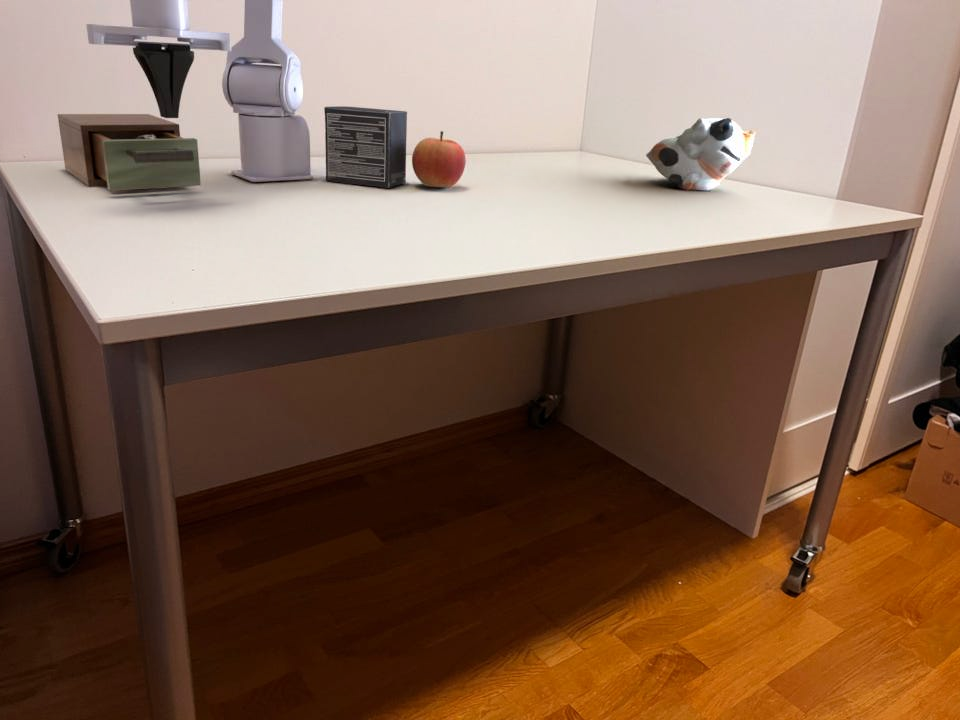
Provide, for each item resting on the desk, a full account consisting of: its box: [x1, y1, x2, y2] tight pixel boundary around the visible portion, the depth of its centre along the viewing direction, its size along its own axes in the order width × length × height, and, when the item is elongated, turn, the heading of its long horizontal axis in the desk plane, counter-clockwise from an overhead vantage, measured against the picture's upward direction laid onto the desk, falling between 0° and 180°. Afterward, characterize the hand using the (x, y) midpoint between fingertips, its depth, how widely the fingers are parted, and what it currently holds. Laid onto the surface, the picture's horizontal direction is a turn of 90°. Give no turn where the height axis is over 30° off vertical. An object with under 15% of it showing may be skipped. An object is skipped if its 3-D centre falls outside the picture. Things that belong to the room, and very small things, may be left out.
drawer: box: [88, 131, 202, 192], centre depth 96 cm, size 17×11×6 cm, turn 38°
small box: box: [323, 105, 408, 189], centre depth 111 cm, size 11×6×10 cm, turn 71°
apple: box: [411, 130, 467, 188], centre depth 111 cm, size 8×8×8 cm
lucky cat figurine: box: [645, 117, 756, 191], centre depth 126 cm, size 15×12×14 cm
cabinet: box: [57, 113, 181, 187], centre depth 105 cm, size 14×12×8 cm
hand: (169, 117), depth 86 cm, fingers closed
